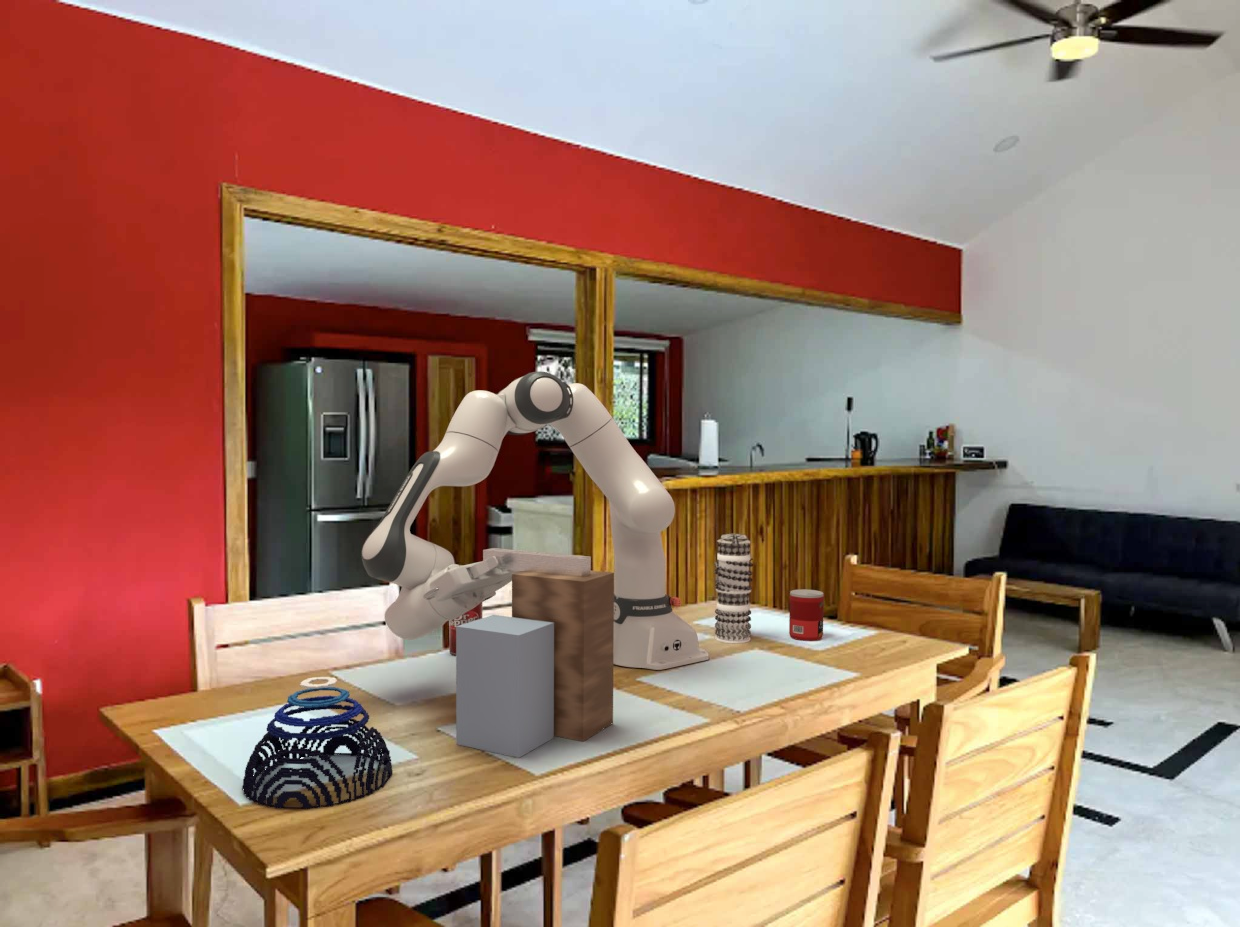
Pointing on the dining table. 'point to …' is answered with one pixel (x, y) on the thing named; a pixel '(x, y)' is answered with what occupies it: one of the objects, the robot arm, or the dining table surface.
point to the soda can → (463, 619)
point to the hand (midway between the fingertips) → (510, 557)
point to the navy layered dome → (328, 749)
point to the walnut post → (574, 644)
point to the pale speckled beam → (541, 562)
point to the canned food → (806, 615)
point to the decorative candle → (733, 589)
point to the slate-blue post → (505, 684)
